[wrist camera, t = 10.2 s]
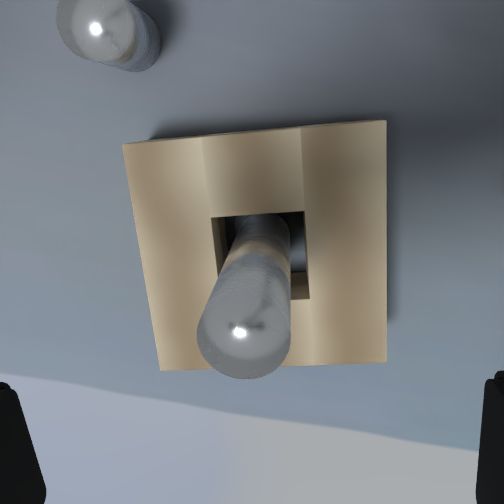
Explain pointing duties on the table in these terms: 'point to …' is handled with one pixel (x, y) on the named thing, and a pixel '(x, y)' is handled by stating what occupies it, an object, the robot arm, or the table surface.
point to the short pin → (109, 33)
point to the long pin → (250, 302)
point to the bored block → (262, 202)
